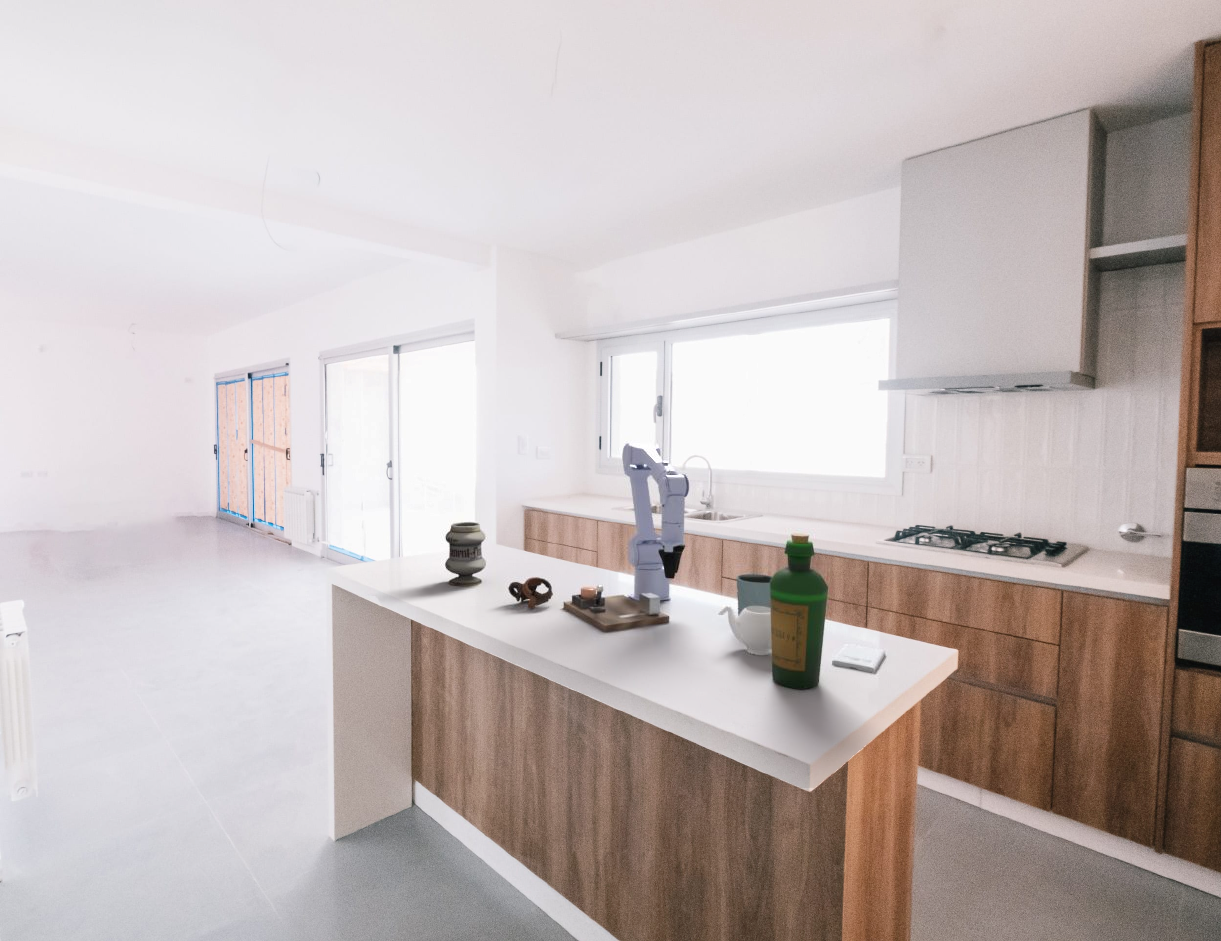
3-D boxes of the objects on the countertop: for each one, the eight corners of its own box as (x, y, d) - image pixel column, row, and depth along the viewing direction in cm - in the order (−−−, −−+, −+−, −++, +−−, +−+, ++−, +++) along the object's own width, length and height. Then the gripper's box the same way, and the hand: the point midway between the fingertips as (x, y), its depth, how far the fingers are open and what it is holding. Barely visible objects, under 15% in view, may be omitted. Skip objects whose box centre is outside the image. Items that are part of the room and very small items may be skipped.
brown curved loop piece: (550, 600, 181) (557, 578, 177) (544, 624, 173) (551, 602, 168) (508, 589, 180) (514, 567, 176) (500, 613, 172) (506, 590, 168)
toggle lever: (599, 604, 165) (602, 583, 163) (602, 608, 164) (605, 586, 162) (592, 605, 164) (595, 584, 162) (595, 608, 163) (598, 587, 161)
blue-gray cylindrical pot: (729, 629, 156) (731, 579, 155) (742, 618, 165) (743, 571, 164) (772, 635, 151) (774, 584, 150) (782, 624, 160) (784, 576, 159)
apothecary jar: (438, 585, 193) (438, 525, 192) (454, 577, 205) (454, 520, 204) (477, 588, 191) (477, 527, 190) (491, 579, 203) (491, 521, 202)
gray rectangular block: (649, 608, 166) (649, 592, 166) (659, 613, 161) (660, 596, 161) (638, 609, 164) (639, 593, 164) (649, 615, 160) (649, 598, 160)
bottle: (758, 671, 128) (763, 530, 127) (811, 670, 129) (816, 530, 128) (777, 693, 118) (782, 539, 116) (834, 692, 119) (839, 539, 117)
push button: (591, 595, 173) (591, 586, 173) (598, 599, 169) (598, 589, 169) (578, 597, 171) (578, 588, 171) (584, 601, 168) (584, 591, 167)
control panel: (622, 600, 181) (622, 587, 180) (669, 622, 161) (669, 608, 160) (563, 607, 172) (563, 594, 172) (604, 631, 152) (605, 617, 152)
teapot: (728, 636, 150) (729, 596, 149) (811, 657, 137) (813, 613, 136) (706, 646, 143) (707, 604, 142) (791, 669, 130) (793, 623, 129)
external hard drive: (884, 657, 139) (874, 675, 129) (845, 650, 144) (831, 666, 133) (885, 650, 139) (874, 667, 129) (845, 643, 144) (831, 659, 133)
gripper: (661, 517, 173) (660, 568, 173) (652, 525, 159) (651, 580, 159) (687, 519, 171) (686, 570, 172) (681, 526, 157) (680, 582, 158)
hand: (671, 575), depth 166 cm, fingers open, 6 cm apart
